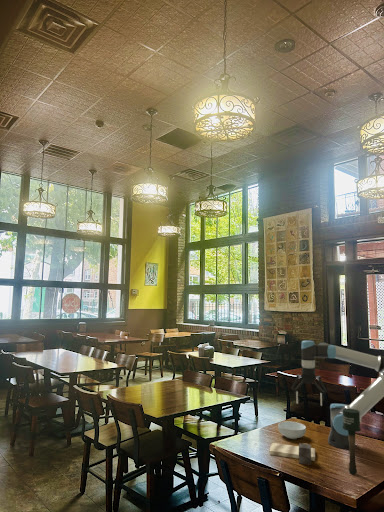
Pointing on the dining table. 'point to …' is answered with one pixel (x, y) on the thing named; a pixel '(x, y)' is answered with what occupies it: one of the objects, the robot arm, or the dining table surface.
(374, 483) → the dining table surface
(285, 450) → the maple board
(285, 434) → the cereal bowl
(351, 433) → the stick grenade
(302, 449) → the marking gauge
